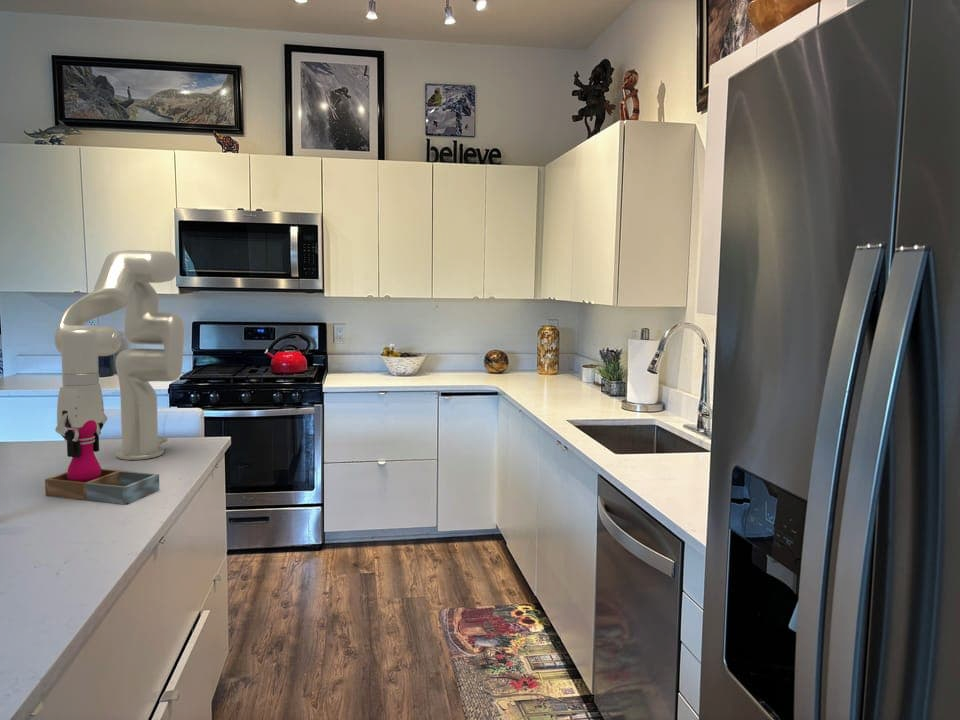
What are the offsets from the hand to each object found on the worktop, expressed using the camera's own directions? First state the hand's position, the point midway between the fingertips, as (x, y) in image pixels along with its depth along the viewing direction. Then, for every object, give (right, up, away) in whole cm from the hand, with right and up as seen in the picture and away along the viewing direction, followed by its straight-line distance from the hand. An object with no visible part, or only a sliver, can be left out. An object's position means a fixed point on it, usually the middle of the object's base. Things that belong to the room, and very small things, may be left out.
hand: (83, 453), depth 161 cm
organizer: (+5, -10, 0) cm, 11 cm away
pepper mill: (0, -10, +1) cm, 10 cm away
